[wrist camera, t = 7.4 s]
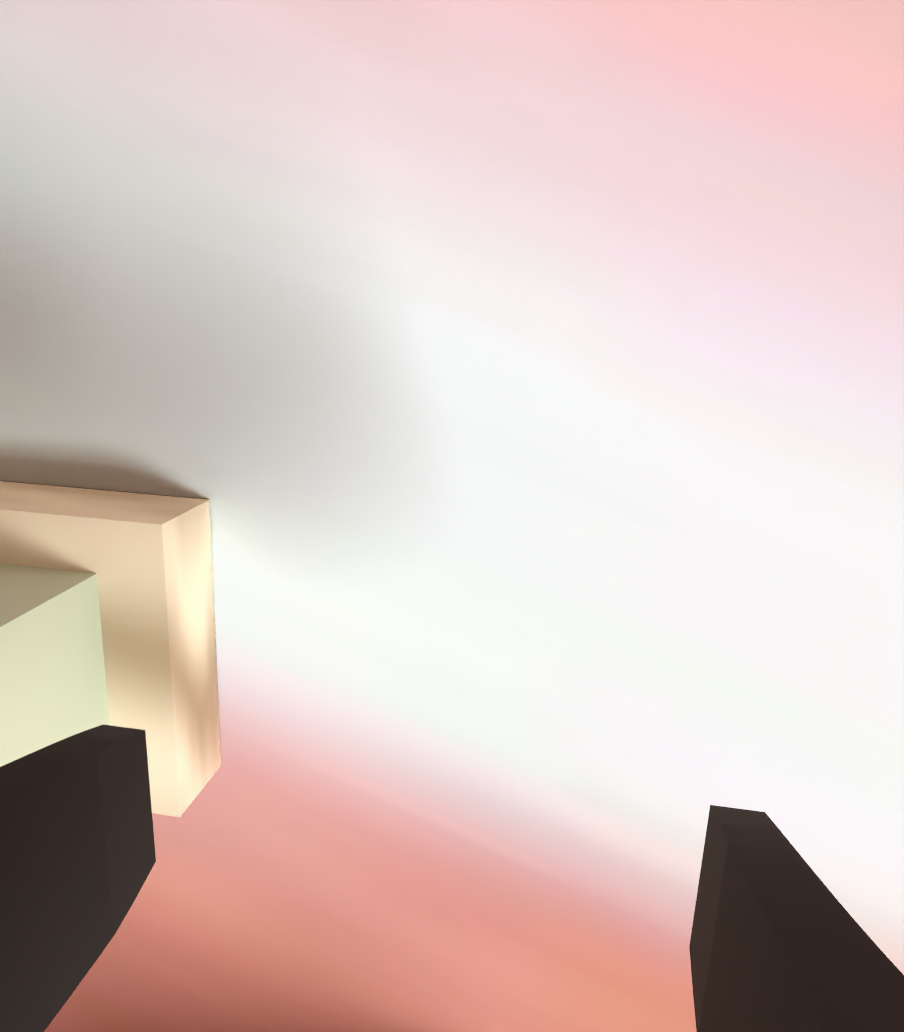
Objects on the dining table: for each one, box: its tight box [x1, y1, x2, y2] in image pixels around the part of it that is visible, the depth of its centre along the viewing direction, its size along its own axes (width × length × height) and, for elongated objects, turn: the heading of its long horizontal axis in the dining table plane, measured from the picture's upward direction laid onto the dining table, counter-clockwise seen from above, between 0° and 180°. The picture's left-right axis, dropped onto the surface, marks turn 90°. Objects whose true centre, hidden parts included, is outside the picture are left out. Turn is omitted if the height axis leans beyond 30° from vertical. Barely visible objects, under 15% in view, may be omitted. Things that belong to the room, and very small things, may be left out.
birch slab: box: [0, 481, 221, 817], centre depth 21 cm, size 8×8×2 cm
